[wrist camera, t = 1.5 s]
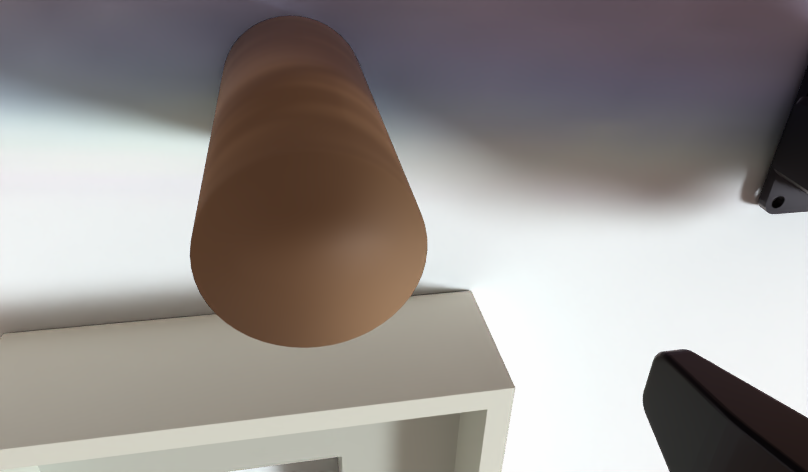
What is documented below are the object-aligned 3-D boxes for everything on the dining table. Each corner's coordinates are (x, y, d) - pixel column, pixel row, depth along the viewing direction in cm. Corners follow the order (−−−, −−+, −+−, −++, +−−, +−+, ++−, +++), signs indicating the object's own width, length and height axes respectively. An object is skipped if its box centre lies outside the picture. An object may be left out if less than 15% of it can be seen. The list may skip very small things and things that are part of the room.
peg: (361, 14, 18) (432, 144, 10) (362, 147, 20) (422, 336, 12) (213, 17, 17) (170, 158, 9) (230, 154, 19) (207, 358, 11)
